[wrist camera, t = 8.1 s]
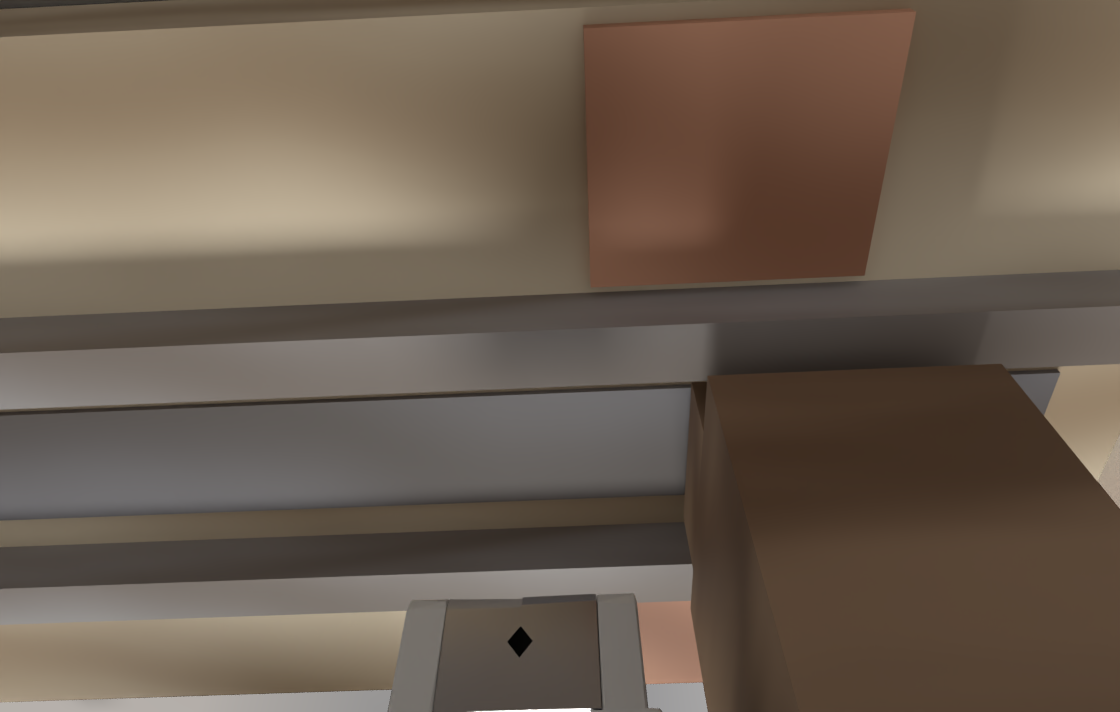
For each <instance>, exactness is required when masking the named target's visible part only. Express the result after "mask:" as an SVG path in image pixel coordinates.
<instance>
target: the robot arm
mask: <svg viewBox="0 0 1120 712" xmlns="http://www.w3.org/2000/svg"><path fill="white" fill-rule="evenodd" d="M388 712H662V711H661V710H660V709H654V708H653V709H652V708H650V709H649V708H648V702H647V692H646V683H645V673H644V664H643V655H642V645H641V636H640V626H639V617H638V607H637V600H636V597H635V595H634V593H625V594H602V595H597V597H596V594H579V595H559V596H538V597H523V599H445V600H412V601H411V603H410V605H409V607H408V610H407V612H406V617H405V622H404V627H403V632H402V638H401V643H400V648H399V654H398V659H397V664H396V670H395V675H394V680H393V686H392V691H391V696H390V702H389V707H388Z"/></svg>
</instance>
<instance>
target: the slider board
mask: <svg viewBox="0 0 1120 712" xmlns="http://www.w3.org/2000/svg"><path fill="white" fill-rule="evenodd" d="M980 364H1002V365H1003V366H1004V367H1005V369H1006V370H1007V371H1008V372H1009V374H1010V375H1011V376H1012V377H1013V378H1014V380H1015V381H1016V382H1017V383H1018V385H1019V386H1020V387H1021V388H1022V389H1023V391H1024V392H1025V393H1026V394H1027V396H1028V397H1029V398H1030V399H1031V401H1032V402H1033V403H1034V404H1035V405H1036V407H1037V408H1038V409H1039V410H1040V412H1041V413H1042V414H1043V415H1044V416H1045V418H1046V419H1047V420H1048V421H1049V423H1050V424H1051V425H1052V426H1053V428H1054V429H1055V430H1056V431H1057V432H1058V434H1059V435H1060V436H1061V437H1062V439H1063V440H1064V441H1065V442H1066V443H1067V445H1068V446H1069V447H1070V448H1071V450H1072V451H1073V452H1074V453H1075V455H1076V456H1077V457H1078V458H1079V459H1080V461H1081V462H1082V463H1083V464H1084V466H1085V467H1086V468H1087V469H1088V471H1089V472H1090V473H1091V474H1092V475H1093V477H1094V478H1095V479H1096V480H1097V482H1098V479H1099V477H1100V475H1101V473H1102V471H1103V469H1104V466H1105V464H1106V462H1107V460H1108V458H1109V456H1110V454H1111V451H1112V449H1113V447H1114V445H1115V443H1116V441H1117V438H1118V436H1119V434H1120V0H167V1H148V2H129V3H109V4H90V5H71V6H51V7H32V8H13V9H0V702H24V701H55V700H86V699H117V698H147V697H177V696H208V695H236V694H237V695H239V694H266V693H267V694H269V693H298V692H299V693H300V692H331V691H359V690H392V686H393V680H394V675H395V670H396V664H397V659H398V654H399V648H400V643H401V638H402V632H403V627H404V622H405V617H406V612H407V610H408V607H409V605H410V603H411V601H412V600H445V599H523V597H538V596H559V595H579V594H596V597H597V595H602V594H625V593H634V595H635V597H636V600H637V607H638V617H639V626H640V636H641V645H642V655H643V664H644V673H645V683H646V684H665V683H694V682H703V680H702V674H701V668H700V662H699V656H698V650H697V645H696V639H695V633H694V627H693V621H692V615H691V610H690V606H691V593H692V579H693V566H692V561H691V555H690V550H689V545H688V539H687V534H686V528H685V523H684V517H683V516H684V499H685V483H686V466H687V449H688V433H689V416H690V400H691V383H692V382H707V377H708V376H711V375H735V374H760V373H784V372H808V371H833V370H857V369H882V368H906V367H931V366H955V365H980Z"/></svg>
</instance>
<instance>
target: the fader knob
mask: <svg viewBox="0 0 1120 712" xmlns="http://www.w3.org/2000/svg"><path fill="white" fill-rule="evenodd" d="M683 517H684V523H685V528H686V534H687V539H688V545H689V550H690V555H691V561H692V566H693V579H692V593H691V606H690V610H691V615H692V621H693V627H694V633H695V639H696V645H697V650H698V656H699V662H700V668H701V674H702V680H703V685H704V691H705V697H706V703H707V709H708V712H1120V509H1119V507H1118V506H1117V505H1116V504H1115V502H1114V501H1113V500H1112V499H1111V498H1110V496H1109V495H1108V494H1107V493H1106V491H1105V490H1104V489H1103V488H1102V486H1101V485H1100V484H1099V483H1098V482H1097V480H1096V479H1095V478H1094V477H1093V475H1092V474H1091V473H1090V472H1089V471H1088V469H1087V468H1086V467H1085V466H1084V464H1083V463H1082V462H1081V461H1080V459H1079V458H1078V457H1077V456H1076V455H1075V453H1074V452H1073V451H1072V450H1071V448H1070V447H1069V446H1068V445H1067V443H1066V442H1065V441H1064V440H1063V439H1062V437H1061V436H1060V435H1059V434H1058V432H1057V431H1056V430H1055V429H1054V428H1053V426H1052V425H1051V424H1050V423H1049V421H1048V420H1047V419H1046V418H1045V416H1044V415H1043V414H1042V413H1041V412H1040V410H1039V409H1038V408H1037V407H1036V405H1035V404H1034V403H1033V402H1032V401H1031V399H1030V398H1029V397H1028V396H1027V394H1026V393H1025V392H1024V391H1023V389H1022V388H1021V387H1020V386H1019V385H1018V383H1017V382H1016V381H1015V380H1014V378H1013V377H1012V376H1011V375H1010V374H1009V372H1008V371H1007V370H1006V369H1005V367H1004V366H1003V365H1002V364H980V365H955V366H931V367H906V368H882V369H857V370H833V371H808V372H784V373H760V374H735V375H711V376H708V377H707V382H692V383H691V400H690V416H689V433H688V449H687V466H686V483H685V499H684V516H683Z"/></svg>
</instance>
